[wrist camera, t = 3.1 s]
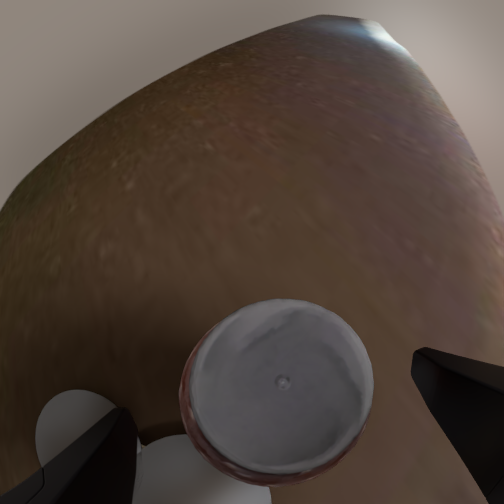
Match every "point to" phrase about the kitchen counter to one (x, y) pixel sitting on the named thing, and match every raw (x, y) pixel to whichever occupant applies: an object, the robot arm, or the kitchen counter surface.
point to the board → (144, 457)
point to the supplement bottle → (277, 392)
